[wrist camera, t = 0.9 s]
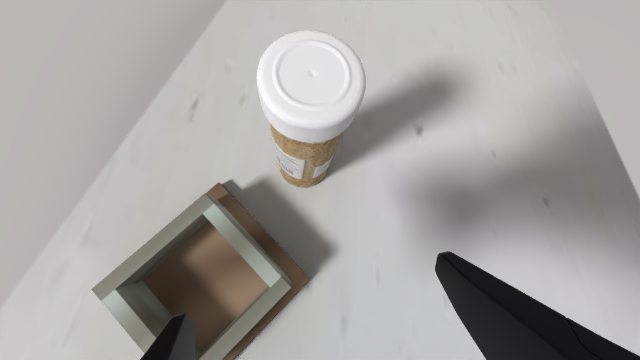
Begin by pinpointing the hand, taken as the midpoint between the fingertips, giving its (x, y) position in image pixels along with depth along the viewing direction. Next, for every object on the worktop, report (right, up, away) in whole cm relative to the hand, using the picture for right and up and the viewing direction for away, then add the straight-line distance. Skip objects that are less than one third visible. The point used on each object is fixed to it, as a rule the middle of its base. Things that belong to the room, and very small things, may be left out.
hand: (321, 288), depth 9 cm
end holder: (-9, -4, +12) cm, 15 cm away
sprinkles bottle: (-2, +5, +15) cm, 15 cm away
